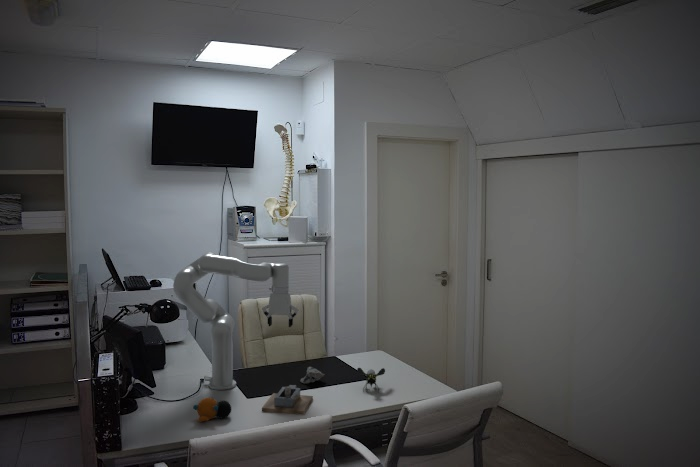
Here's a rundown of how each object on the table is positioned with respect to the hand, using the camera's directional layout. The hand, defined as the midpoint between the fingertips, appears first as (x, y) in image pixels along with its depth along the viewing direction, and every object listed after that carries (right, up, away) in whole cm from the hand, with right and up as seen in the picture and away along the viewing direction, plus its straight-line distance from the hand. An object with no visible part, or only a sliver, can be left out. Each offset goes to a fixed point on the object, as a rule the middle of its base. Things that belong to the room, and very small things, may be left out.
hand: (280, 326), depth 266 cm
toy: (-23, -32, -38) cm, 54 cm away
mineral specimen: (+15, -28, +8) cm, 33 cm away
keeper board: (+6, -30, -22) cm, 38 cm away
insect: (+42, -30, -2) cm, 52 cm away
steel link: (+6, -29, -20) cm, 36 cm away
